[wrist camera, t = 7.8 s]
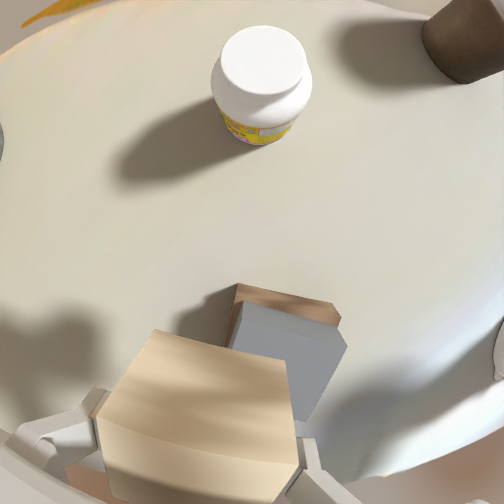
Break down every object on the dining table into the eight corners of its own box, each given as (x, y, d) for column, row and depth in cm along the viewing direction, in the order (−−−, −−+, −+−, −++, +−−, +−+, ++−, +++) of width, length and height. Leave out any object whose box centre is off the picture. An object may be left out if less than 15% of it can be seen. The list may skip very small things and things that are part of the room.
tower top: (335, 325, 26) (347, 346, 22) (300, 396, 28) (305, 421, 24) (243, 300, 26) (242, 319, 22) (217, 377, 27) (213, 402, 23)
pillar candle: (458, 96, 24) (545, 68, 9) (407, 33, 23) (477, -25, 8) (485, 68, 23) (557, 41, 8) (440, 12, 21) (501, -34, 7)
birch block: (285, 360, 10) (299, 464, 6) (252, 441, 11) (250, 529, 7) (155, 328, 10) (95, 416, 5) (147, 416, 11) (112, 497, 6)
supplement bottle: (213, 96, 25) (185, 33, 12) (277, 74, 24) (293, 1, 12) (239, 157, 26) (227, 129, 14) (304, 133, 26) (344, 91, 13)
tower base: (330, 301, 30) (341, 317, 26) (302, 377, 32) (308, 398, 28) (237, 281, 29) (235, 295, 25) (219, 362, 31) (215, 382, 27)
